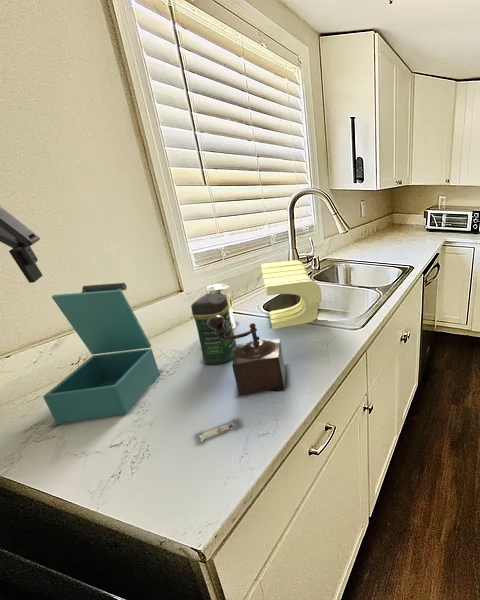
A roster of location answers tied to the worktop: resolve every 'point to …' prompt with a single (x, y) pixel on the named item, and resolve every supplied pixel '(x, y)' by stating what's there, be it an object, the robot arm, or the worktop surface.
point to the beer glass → (226, 291)
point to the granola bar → (216, 431)
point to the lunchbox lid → (103, 318)
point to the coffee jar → (211, 343)
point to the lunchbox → (103, 386)
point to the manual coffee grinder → (254, 360)
